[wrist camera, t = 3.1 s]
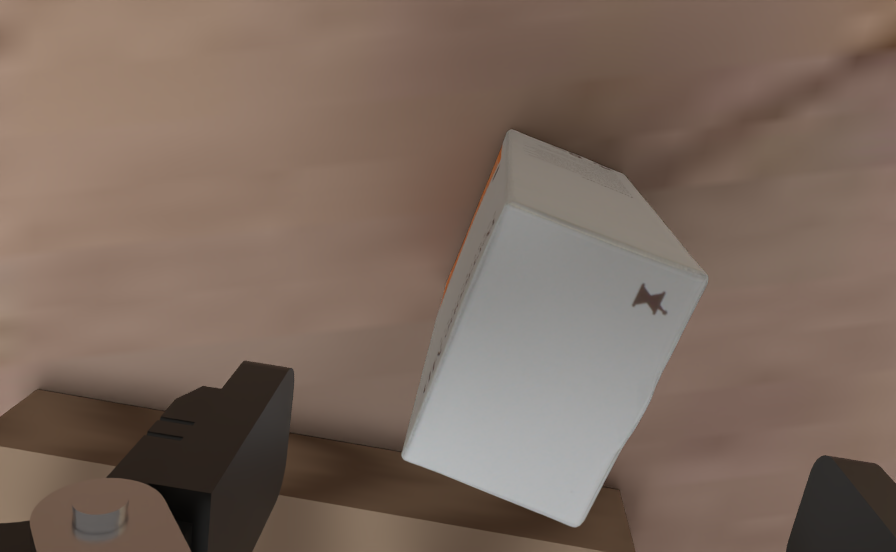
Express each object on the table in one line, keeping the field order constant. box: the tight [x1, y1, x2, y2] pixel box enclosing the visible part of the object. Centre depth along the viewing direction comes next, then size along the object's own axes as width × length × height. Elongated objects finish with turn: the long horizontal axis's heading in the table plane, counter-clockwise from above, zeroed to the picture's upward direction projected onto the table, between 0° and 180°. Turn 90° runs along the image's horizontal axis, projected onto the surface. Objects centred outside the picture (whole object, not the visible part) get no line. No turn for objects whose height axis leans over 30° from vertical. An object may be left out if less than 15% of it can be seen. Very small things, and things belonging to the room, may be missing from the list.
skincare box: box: [401, 129, 708, 527], centre depth 21 cm, size 6×4×12 cm
